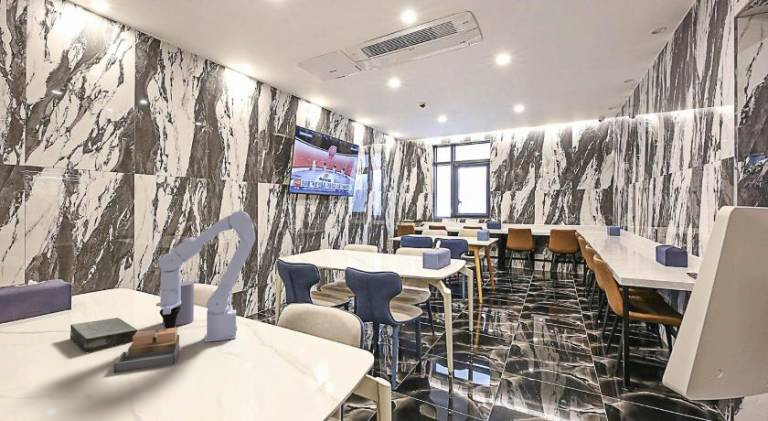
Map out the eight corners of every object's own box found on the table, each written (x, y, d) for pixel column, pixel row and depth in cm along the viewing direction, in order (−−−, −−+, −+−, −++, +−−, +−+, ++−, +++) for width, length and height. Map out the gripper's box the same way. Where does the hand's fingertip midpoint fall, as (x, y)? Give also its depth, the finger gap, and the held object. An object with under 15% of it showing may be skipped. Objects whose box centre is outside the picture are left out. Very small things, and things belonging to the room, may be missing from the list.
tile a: (177, 335, 114) (177, 327, 114) (175, 340, 109) (175, 332, 109) (159, 337, 112) (159, 329, 112) (156, 342, 107) (156, 334, 107)
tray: (179, 352, 107) (179, 345, 107) (174, 364, 99) (175, 355, 99) (123, 360, 102) (123, 351, 102) (113, 372, 94) (113, 363, 94)
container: (196, 322, 135) (196, 284, 135) (165, 328, 129) (165, 287, 129) (190, 316, 143) (190, 279, 143) (160, 321, 137) (161, 283, 137)
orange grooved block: (179, 343, 114) (179, 334, 114) (175, 353, 107) (175, 343, 107) (135, 349, 110) (135, 339, 110) (127, 359, 102) (128, 348, 102)
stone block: (85, 354, 106) (86, 337, 106) (69, 339, 118) (69, 324, 118) (138, 341, 117) (138, 326, 117) (118, 329, 129) (118, 315, 129)
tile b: (155, 337, 112) (155, 329, 112) (152, 343, 107) (152, 334, 107) (136, 339, 110) (137, 331, 110) (132, 345, 105) (132, 336, 105)
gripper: (161, 285, 121) (160, 324, 121) (151, 295, 108) (151, 339, 108) (184, 284, 124) (184, 322, 124) (177, 293, 111) (177, 336, 111)
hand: (170, 330), depth 116 cm, fingers closed
